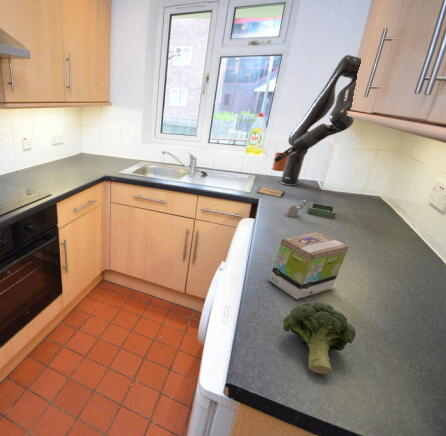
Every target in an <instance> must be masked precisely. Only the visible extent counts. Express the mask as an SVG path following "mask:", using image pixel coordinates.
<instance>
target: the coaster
mask: <svg viewBox="0 0 446 436" xmlns="http://www.w3.org/2000/svg"><path fill="white" fill-rule="evenodd" d="M283 193H284V190H280V189H275V188H269V187H264V186H263V187H260V188H259V190H258V191H257V194H262V195H267V196H273V197H278V198H281V197H282V196H283Z"/></svg>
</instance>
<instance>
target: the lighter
mask: <svg viewBox="0 0 446 436" xmlns="http://www.w3.org/2000/svg"><path fill="white" fill-rule="evenodd" d="M307 204H308V201H307V200H305V199H303V200H302V201H301V202H300V204H298V205H296V204H292V205H291V206H288V207H287V211H286V217H292V218H293V217H294V218H297V217H298V213H299V210H303V209H304V208H305V206H306V205H307Z"/></svg>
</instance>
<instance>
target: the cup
mask: <svg viewBox="0 0 446 436" xmlns="http://www.w3.org/2000/svg"><path fill="white" fill-rule="evenodd" d="M281 153H282V152H275V155H274V158H273V162H272V166H271V170H273V171H275V172H283V171H285V169H286V165H287V161H288V157H289V156H288V157H287V156H286V157H285V158H283V159H281V160H279V161H278V162H276V161H275V160H274V159H275V158H277V157H278V156H280V154H281ZM283 155H284V156H285V155H286V154H285V153H284V154H283Z"/></svg>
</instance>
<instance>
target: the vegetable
mask: <svg viewBox="0 0 446 436" xmlns="http://www.w3.org/2000/svg"><path fill="white" fill-rule="evenodd" d="M282 323H283V326H282V329H283V331H284V332H291V333H292V334H294V335H295V336H297V337H298V338H299V339H300V340H301V341H302V342H303V343H306V345H307V347H308V348H309V351H308V356H307V357H308V358H307V359H308V367H307V369H308V370H309V371H310V372H312V373H314V374H319V375H328V374H330V373H332V372H333V368H332V365H331V361H330V360H331V358H330V357H329V350H330V351H337V352H341V351H343V350H345V348H346V347H345V346H347V344H352V343H353V342H354V340H355V338H356V335H357V333H356V328H355V327H354V326H353V325H352V324H351V323H349V322H348V318H347V317H346V316H345V314H343V313H342V312H341V311H339V310H337V309H335V308H334V306H332V305H331V304H328V303H325V302H320V301H314V302H309V301H306V302H302V303H301V305H297V306H294V307H292V309H291V310H290V313H289V314H288V313H287V315H286V316H285V317H284V318H283V321H282Z"/></svg>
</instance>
